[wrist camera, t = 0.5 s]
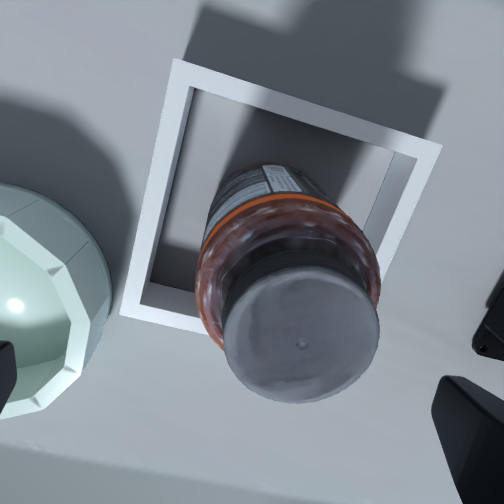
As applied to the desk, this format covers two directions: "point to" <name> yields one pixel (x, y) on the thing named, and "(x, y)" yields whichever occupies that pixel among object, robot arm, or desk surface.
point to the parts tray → (193, 76)
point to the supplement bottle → (287, 286)
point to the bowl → (48, 296)
